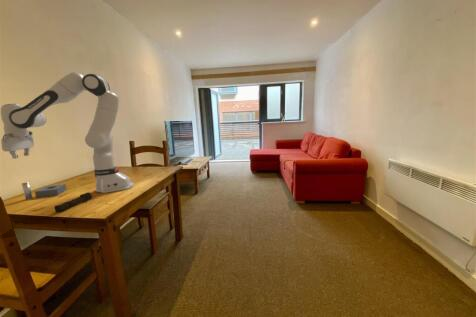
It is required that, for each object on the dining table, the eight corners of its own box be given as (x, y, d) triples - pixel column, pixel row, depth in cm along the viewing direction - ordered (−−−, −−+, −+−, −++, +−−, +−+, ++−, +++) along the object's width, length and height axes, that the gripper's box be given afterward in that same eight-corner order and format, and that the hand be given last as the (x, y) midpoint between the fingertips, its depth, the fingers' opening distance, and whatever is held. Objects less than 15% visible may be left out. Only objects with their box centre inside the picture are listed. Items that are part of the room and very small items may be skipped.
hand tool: (60, 213, 102) (58, 204, 101) (54, 212, 103) (52, 204, 102) (95, 199, 120) (94, 191, 119) (90, 198, 121) (89, 191, 120)
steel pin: (33, 197, 125) (30, 181, 123) (30, 199, 123) (26, 183, 121) (27, 198, 125) (23, 182, 123) (24, 200, 122) (20, 184, 120)
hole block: (66, 189, 138) (65, 184, 137) (58, 195, 128) (56, 189, 127) (46, 191, 135) (45, 186, 134) (36, 197, 125) (34, 191, 124)
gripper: (10, 134, 108) (15, 159, 110) (34, 132, 127) (38, 154, 129) (-6, 134, 106) (0, 160, 108) (21, 132, 125) (26, 154, 128)
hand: (21, 157), depth 119 cm, fingers open, 8 cm apart
